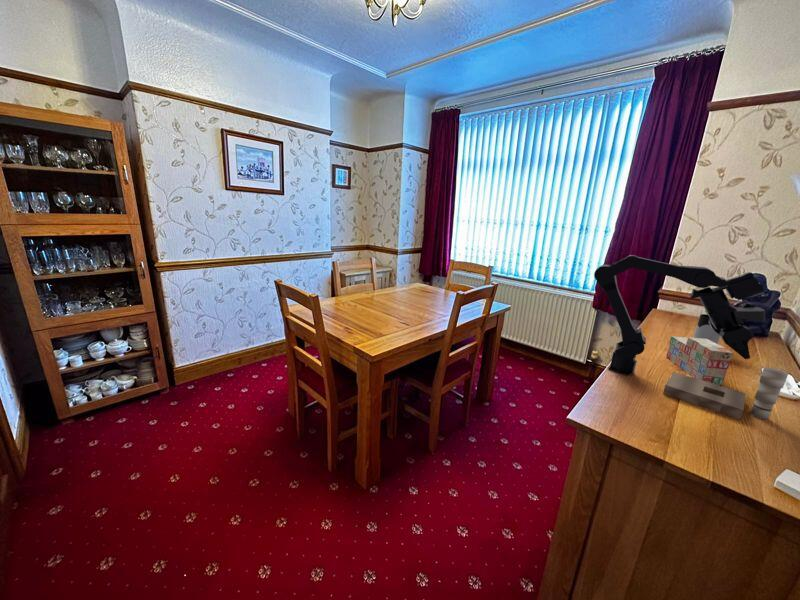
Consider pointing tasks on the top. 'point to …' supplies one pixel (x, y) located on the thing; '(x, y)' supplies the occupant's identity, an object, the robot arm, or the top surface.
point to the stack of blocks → (700, 358)
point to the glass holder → (705, 330)
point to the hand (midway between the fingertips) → (742, 353)
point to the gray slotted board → (706, 394)
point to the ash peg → (768, 392)
